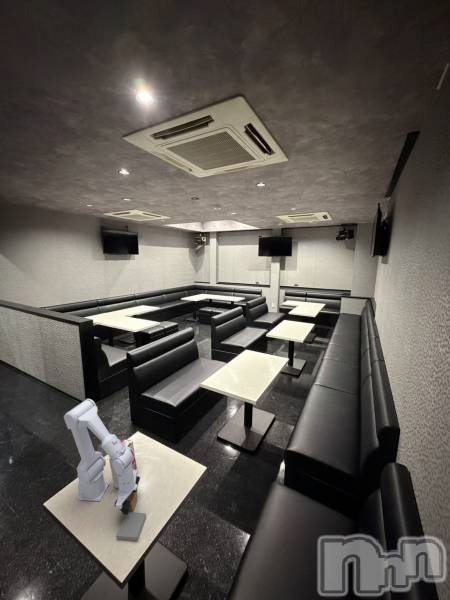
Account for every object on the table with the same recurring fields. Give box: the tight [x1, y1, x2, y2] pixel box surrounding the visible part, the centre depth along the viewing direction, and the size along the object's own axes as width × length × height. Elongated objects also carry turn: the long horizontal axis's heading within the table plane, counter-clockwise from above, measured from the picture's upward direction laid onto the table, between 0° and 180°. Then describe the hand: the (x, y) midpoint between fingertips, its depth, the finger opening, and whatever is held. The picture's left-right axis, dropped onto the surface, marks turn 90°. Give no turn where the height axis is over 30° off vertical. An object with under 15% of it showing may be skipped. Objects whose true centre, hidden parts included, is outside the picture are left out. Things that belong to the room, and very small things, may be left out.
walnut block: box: [126, 492, 138, 512], centre depth 98 cm, size 4×4×5 cm
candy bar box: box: [108, 439, 138, 490], centre depth 109 cm, size 11×5×16 cm, turn 168°
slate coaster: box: [116, 511, 147, 542], centre depth 91 cm, size 8×8×3 cm
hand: (129, 503), depth 98 cm, fingers open, 7 cm apart
